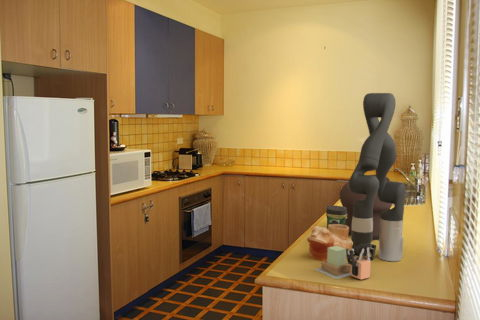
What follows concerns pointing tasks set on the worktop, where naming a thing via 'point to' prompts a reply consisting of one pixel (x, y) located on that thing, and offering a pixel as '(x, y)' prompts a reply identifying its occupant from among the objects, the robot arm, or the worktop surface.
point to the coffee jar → (336, 215)
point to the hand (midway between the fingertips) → (360, 273)
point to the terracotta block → (362, 269)
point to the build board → (331, 274)
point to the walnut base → (336, 268)
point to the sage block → (336, 256)
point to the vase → (350, 197)
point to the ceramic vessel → (328, 240)
